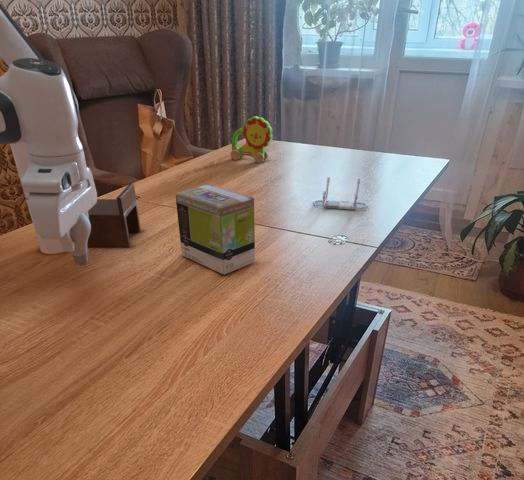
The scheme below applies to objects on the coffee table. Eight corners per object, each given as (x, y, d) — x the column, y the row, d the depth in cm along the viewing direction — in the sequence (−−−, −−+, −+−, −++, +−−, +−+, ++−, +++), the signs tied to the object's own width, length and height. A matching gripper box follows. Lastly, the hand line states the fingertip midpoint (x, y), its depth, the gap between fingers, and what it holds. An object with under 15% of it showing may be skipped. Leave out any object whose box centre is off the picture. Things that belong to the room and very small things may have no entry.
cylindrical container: (38, 255, 112) (4, 140, 97) (43, 243, 117) (11, 133, 103) (70, 252, 113) (41, 138, 98) (73, 240, 119) (46, 131, 104)
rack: (80, 246, 116) (68, 197, 109) (95, 229, 125) (85, 182, 118) (129, 247, 115) (120, 197, 108) (141, 230, 124) (133, 183, 117)
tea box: (256, 262, 108) (256, 196, 100) (223, 276, 102) (219, 208, 94) (213, 243, 117) (209, 181, 108) (180, 256, 111) (173, 191, 103)
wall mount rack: (311, 210, 136) (312, 189, 133) (316, 195, 147) (317, 175, 143) (366, 213, 133) (369, 192, 130) (368, 198, 144) (370, 178, 141)
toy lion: (230, 160, 181) (228, 115, 172) (236, 156, 185) (235, 113, 176) (268, 164, 176) (268, 119, 167) (274, 161, 180) (274, 116, 171)
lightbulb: (104, 260, 96) (93, 206, 90) (88, 274, 91) (76, 217, 85) (76, 257, 97) (64, 203, 91) (59, 270, 93) (45, 214, 86)
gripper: (65, 152, 92) (80, 222, 100) (15, 185, 76) (38, 265, 84) (97, 153, 92) (110, 223, 100) (54, 186, 75) (73, 266, 83)
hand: (77, 243), depth 92 cm, fingers closed on lightbulb, 6 cm apart
